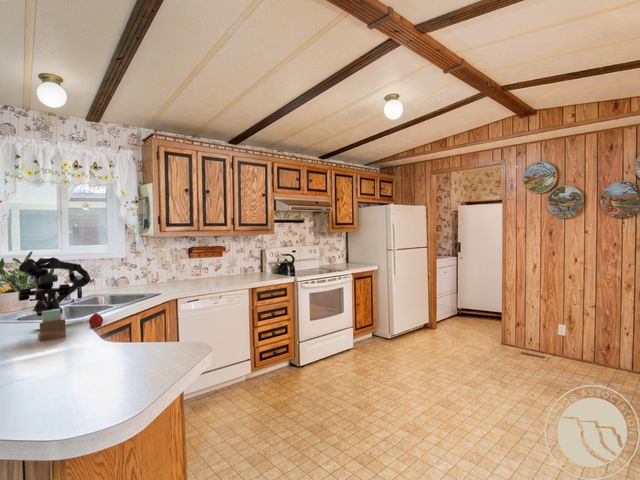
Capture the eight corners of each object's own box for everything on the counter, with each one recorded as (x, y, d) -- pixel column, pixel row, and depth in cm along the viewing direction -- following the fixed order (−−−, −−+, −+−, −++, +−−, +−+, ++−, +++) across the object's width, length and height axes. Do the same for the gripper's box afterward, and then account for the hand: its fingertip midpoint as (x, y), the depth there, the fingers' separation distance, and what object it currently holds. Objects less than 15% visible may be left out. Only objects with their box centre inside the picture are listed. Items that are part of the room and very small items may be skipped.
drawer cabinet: (36, 337, 154) (35, 317, 154) (59, 333, 160) (59, 314, 160) (40, 344, 144) (39, 323, 144) (66, 339, 151) (65, 319, 150)
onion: (86, 329, 166) (85, 312, 166) (98, 326, 171) (98, 310, 171) (93, 330, 163) (92, 314, 163) (105, 327, 169) (105, 311, 168)
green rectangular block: (43, 338, 148) (41, 311, 148) (60, 335, 153) (59, 308, 152) (44, 340, 146) (42, 312, 146) (61, 336, 151) (60, 309, 150)
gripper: (18, 271, 153) (23, 298, 146) (68, 267, 167) (75, 292, 160) (16, 286, 159) (20, 314, 152) (65, 282, 173) (71, 306, 166)
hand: (48, 306), depth 157 cm, fingers closed
